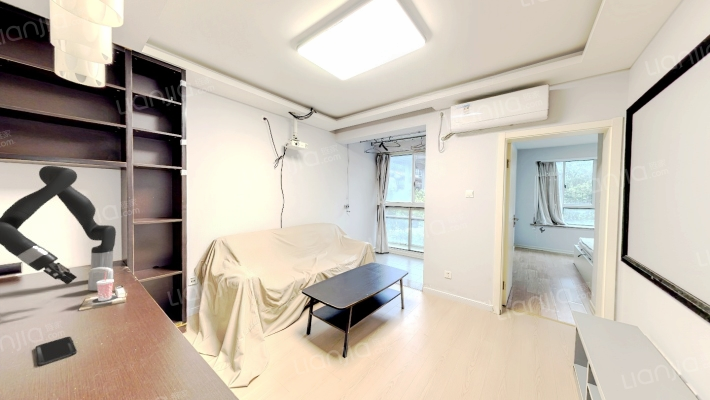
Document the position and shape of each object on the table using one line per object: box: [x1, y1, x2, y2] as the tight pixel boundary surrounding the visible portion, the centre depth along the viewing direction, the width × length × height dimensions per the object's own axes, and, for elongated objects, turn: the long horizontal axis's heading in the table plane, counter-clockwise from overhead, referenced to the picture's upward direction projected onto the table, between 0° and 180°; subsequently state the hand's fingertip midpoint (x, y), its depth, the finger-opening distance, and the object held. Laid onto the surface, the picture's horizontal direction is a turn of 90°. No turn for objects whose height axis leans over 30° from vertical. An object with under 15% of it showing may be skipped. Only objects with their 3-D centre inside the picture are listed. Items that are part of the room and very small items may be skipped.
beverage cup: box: [97, 271, 115, 301], centre depth 119 cm, size 6×6×14 cm
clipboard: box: [78, 290, 129, 312], centre depth 119 cm, size 18×15×1 cm
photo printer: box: [87, 267, 114, 291], centre depth 132 cm, size 10×4×12 cm, turn 98°
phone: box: [34, 336, 77, 367], centre depth 80 cm, size 8×1×15 cm
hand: (72, 280), depth 115 cm, fingers open, 8 cm apart
